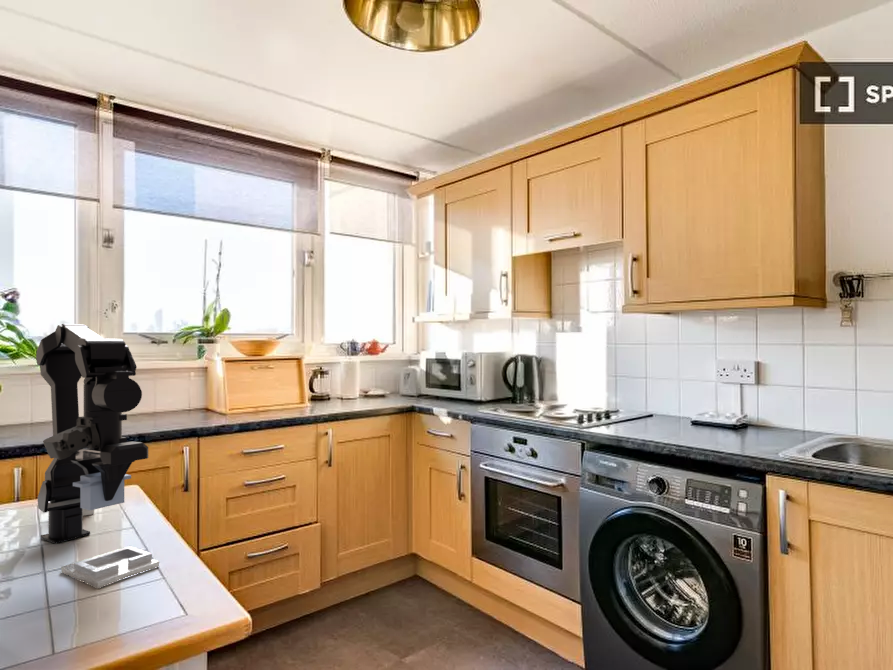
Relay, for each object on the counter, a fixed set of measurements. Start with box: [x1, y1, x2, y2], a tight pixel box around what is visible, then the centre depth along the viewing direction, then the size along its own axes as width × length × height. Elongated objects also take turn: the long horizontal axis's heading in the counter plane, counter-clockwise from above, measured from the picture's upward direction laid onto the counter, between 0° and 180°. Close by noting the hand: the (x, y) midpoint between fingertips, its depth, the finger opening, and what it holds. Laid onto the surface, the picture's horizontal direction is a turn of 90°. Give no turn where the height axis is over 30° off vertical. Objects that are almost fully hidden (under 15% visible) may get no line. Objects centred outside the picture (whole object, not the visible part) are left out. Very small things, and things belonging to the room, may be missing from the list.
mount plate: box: [60, 545, 160, 589], centre depth 95 cm, size 12×10×2 cm
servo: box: [73, 472, 132, 511], centre depth 96 cm, size 8×3×6 cm, turn 148°
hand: (103, 499), depth 96 cm, fingers closed on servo, 3 cm apart
